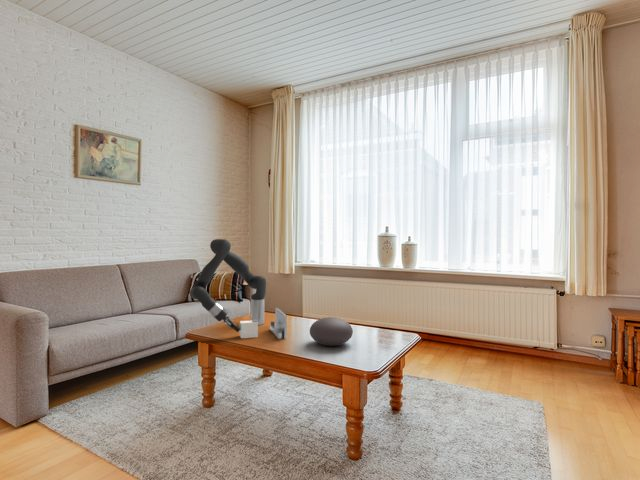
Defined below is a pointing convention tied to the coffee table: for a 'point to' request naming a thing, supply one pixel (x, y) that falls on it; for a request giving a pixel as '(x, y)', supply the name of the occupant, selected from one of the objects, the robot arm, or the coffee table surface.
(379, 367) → the coffee table surface
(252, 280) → the robot arm
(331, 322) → the flattened ellipsoid
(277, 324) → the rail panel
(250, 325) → the block
